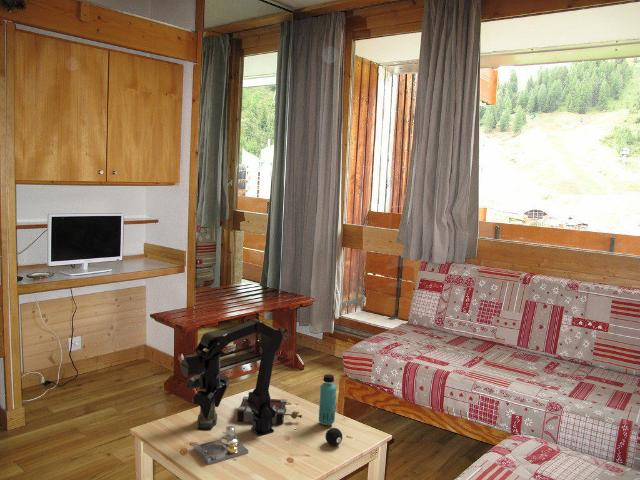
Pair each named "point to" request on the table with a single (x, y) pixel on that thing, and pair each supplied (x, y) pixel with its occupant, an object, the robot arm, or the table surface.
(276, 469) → the table surface
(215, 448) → the plate
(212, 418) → the mechanical leg
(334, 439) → the billiard ball
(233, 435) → the silver metal knob
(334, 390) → the beverage bottle
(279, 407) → the machine vise
